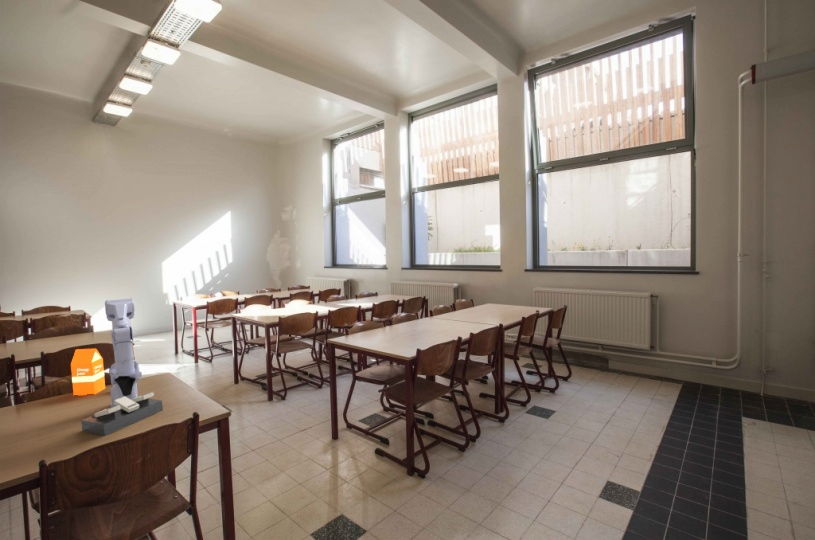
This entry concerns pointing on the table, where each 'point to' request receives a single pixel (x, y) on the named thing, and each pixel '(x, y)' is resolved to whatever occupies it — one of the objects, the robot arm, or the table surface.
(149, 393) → the white rectangular block
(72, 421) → the table surface
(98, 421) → the grey slab
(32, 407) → the table surface
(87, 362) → the orange juice
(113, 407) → the rocker
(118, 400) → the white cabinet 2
